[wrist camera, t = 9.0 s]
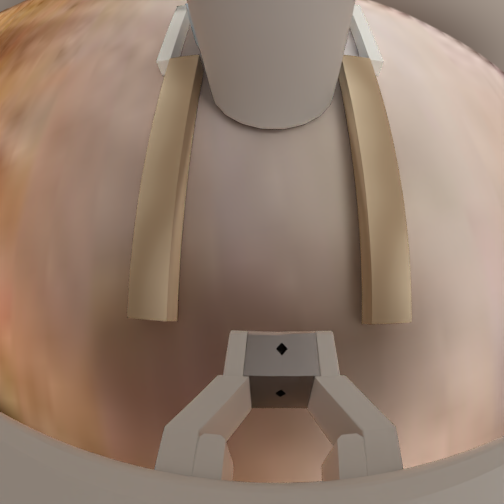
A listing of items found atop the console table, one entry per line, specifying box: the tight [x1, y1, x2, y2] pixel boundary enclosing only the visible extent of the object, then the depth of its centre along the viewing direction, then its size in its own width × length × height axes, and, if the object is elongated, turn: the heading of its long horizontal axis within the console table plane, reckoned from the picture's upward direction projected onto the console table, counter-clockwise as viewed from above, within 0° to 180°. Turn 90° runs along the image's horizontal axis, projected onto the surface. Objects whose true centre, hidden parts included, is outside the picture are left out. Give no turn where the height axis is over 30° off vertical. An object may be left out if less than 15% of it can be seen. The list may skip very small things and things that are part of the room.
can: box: [187, 0, 355, 129], centre depth 11 cm, size 8×8×12 cm
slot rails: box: [127, 55, 412, 325], centre depth 15 cm, size 13×16×2 cm
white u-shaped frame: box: [156, 5, 384, 76], centre depth 17 cm, size 15×8×2 cm, turn 89°
